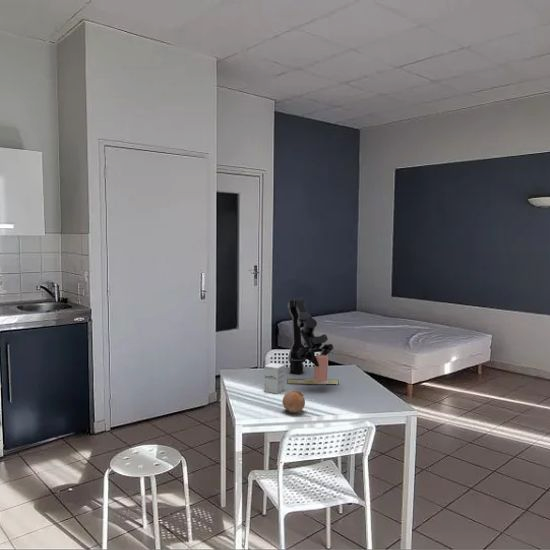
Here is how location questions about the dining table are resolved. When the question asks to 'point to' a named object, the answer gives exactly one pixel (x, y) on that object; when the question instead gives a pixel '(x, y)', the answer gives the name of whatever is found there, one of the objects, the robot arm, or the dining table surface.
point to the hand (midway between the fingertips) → (322, 365)
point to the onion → (294, 402)
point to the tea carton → (321, 368)
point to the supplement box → (274, 378)
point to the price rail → (311, 381)
